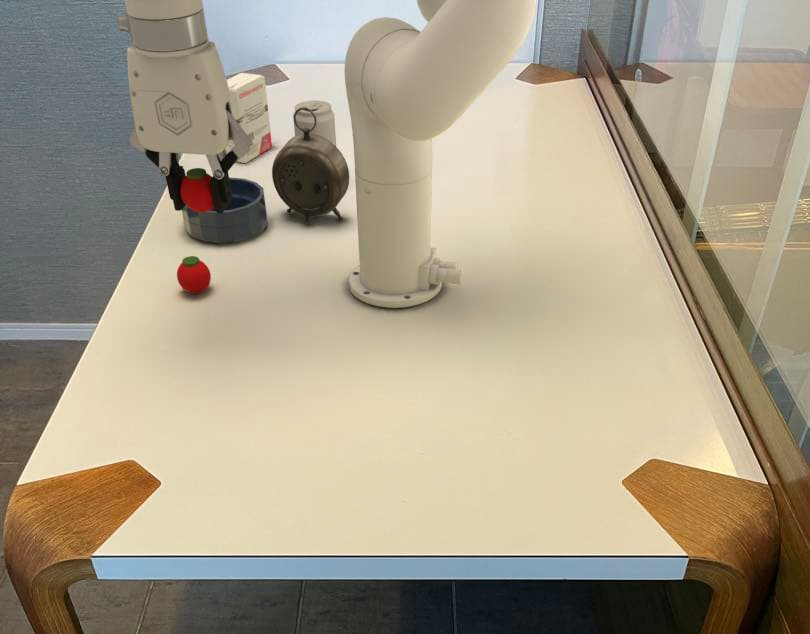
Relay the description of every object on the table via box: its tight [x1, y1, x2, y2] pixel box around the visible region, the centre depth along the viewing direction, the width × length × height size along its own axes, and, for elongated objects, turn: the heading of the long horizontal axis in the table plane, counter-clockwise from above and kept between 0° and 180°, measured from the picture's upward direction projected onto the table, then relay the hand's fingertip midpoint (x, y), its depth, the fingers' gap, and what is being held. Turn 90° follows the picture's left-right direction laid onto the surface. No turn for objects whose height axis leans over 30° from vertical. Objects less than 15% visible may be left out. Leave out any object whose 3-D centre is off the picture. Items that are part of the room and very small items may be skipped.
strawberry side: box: [176, 255, 212, 294], centre depth 114 cm, size 4×4×4 cm
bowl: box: [181, 176, 269, 243], centre depth 128 cm, size 12×12×5 cm
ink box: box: [226, 72, 273, 164], centre depth 146 cm, size 8×5×12 cm, turn 152°
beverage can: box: [292, 100, 337, 147], centre depth 136 cm, size 6×6×12 cm
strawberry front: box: [180, 167, 214, 212], centre depth 98 cm, size 4×4×4 cm
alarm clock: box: [271, 107, 350, 227], centre depth 125 cm, size 11×5×16 cm, turn 73°
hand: (202, 205), depth 100 cm, fingers closed on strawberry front, 4 cm apart
